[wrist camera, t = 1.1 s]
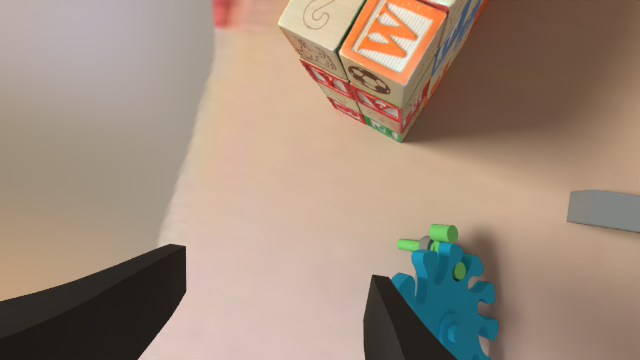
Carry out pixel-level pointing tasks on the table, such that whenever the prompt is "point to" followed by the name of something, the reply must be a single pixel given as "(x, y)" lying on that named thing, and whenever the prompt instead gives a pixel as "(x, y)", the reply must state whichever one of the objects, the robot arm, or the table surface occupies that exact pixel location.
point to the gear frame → (605, 209)
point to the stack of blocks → (379, 53)
